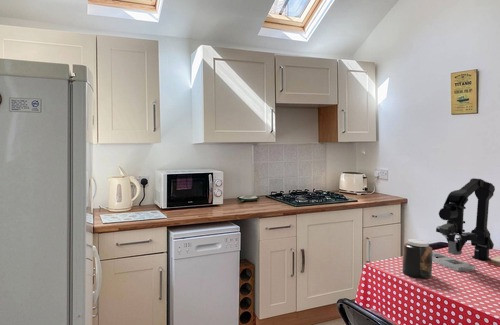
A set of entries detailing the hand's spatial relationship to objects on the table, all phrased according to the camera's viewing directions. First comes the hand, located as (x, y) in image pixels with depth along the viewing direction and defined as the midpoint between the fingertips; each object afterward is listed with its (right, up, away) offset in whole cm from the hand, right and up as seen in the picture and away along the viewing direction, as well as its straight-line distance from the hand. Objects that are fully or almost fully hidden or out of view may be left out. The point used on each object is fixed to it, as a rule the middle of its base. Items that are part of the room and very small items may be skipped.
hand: (454, 250), depth 173 cm
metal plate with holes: (-2, -7, +5) cm, 9 cm away
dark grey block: (0, -2, 0) cm, 2 cm away
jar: (-24, -8, -13) cm, 29 cm away
